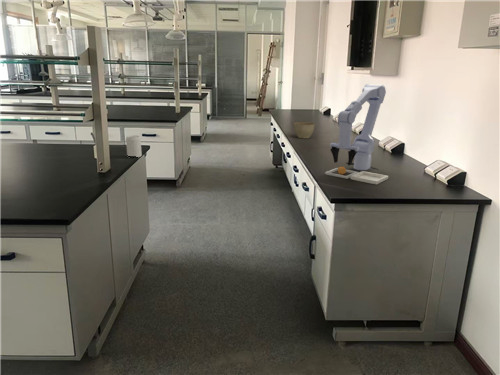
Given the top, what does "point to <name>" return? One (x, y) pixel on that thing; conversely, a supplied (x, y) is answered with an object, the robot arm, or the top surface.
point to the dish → (369, 177)
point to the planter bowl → (304, 129)
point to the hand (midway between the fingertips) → (342, 163)
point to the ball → (341, 170)
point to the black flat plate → (370, 167)
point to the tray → (340, 175)
